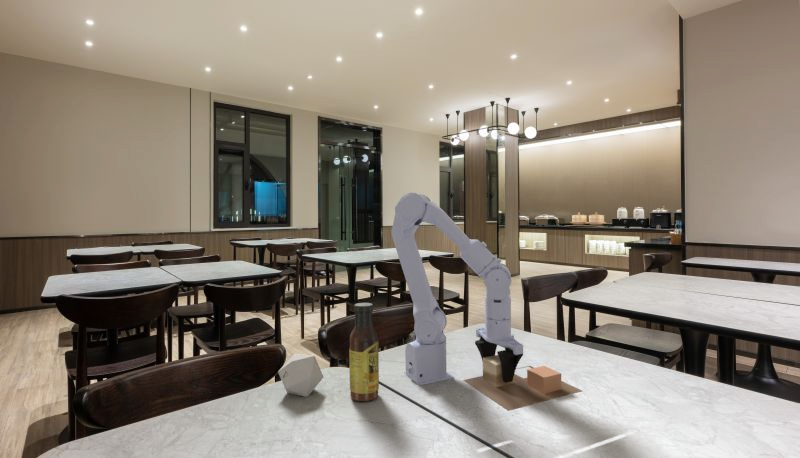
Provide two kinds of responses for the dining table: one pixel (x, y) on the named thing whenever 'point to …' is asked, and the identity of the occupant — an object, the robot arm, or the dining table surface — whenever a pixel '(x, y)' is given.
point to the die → (300, 374)
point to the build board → (518, 391)
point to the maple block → (493, 371)
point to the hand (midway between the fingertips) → (498, 375)
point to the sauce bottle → (364, 355)
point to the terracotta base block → (544, 379)
